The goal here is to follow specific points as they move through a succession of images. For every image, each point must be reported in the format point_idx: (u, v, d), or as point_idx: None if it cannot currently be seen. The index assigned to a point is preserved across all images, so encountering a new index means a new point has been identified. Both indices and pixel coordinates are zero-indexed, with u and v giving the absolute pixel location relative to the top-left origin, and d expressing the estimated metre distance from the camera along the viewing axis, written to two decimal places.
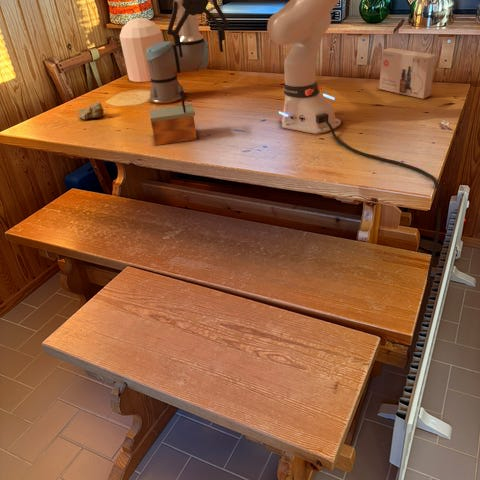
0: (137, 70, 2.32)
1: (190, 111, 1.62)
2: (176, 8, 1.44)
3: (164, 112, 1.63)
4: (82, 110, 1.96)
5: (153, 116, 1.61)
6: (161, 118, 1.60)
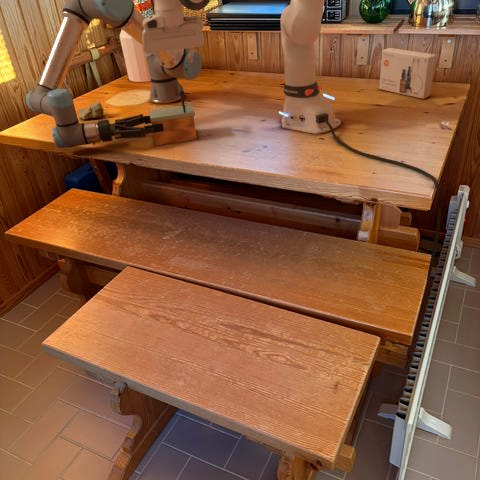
0: (137, 70, 2.32)
1: (190, 111, 1.62)
2: None
3: (164, 112, 1.63)
4: (82, 110, 1.96)
5: (153, 116, 1.61)
6: (161, 118, 1.60)
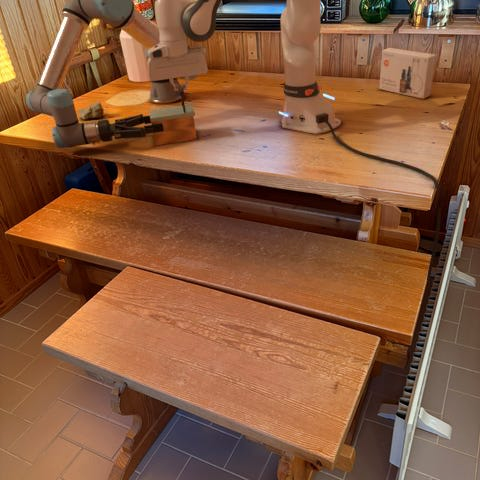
0: (137, 70, 2.32)
1: (189, 111, 1.62)
2: None
3: (164, 112, 1.63)
4: (82, 110, 1.96)
5: (153, 116, 1.61)
6: (161, 118, 1.60)
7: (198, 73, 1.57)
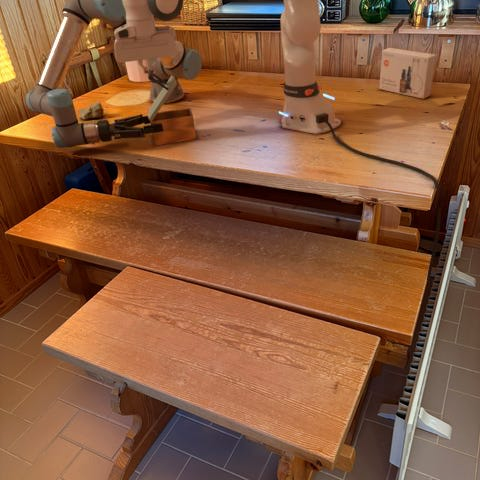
0: (137, 70, 2.32)
1: (171, 85, 1.56)
2: None
3: (156, 103, 1.61)
4: (82, 110, 1.96)
5: (150, 115, 1.60)
6: (155, 111, 1.59)
7: (167, 55, 1.52)
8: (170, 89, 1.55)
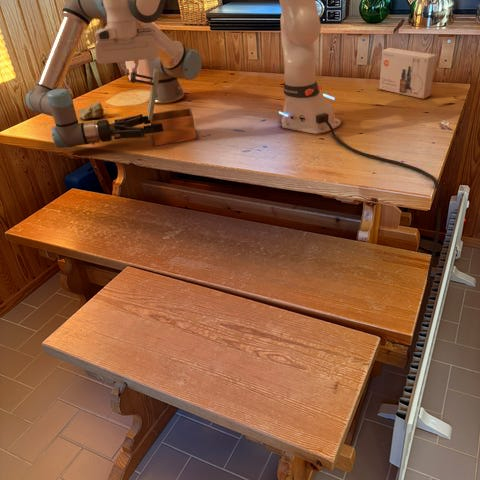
0: (137, 70, 2.32)
1: (154, 78, 1.53)
2: None
3: (150, 101, 1.60)
4: (82, 110, 1.96)
5: (148, 115, 1.60)
6: (151, 109, 1.58)
7: (149, 57, 1.51)
8: (155, 83, 1.53)
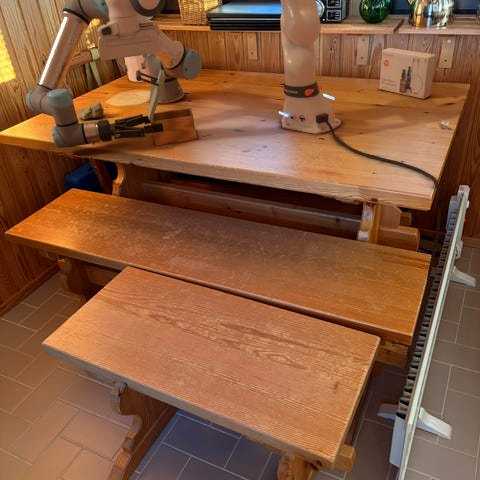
0: None
1: (160, 80, 1.54)
2: None
3: (152, 101, 1.61)
4: (82, 110, 1.96)
5: (149, 115, 1.60)
6: (153, 110, 1.58)
7: (152, 52, 1.51)
8: (160, 84, 1.54)
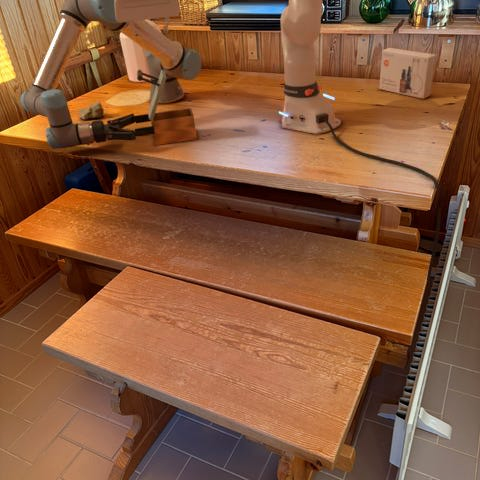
0: (137, 70, 2.32)
1: (161, 80, 1.54)
2: None
3: (153, 101, 1.61)
4: (82, 110, 1.96)
5: (149, 115, 1.60)
6: (153, 110, 1.58)
7: (169, 15, 1.46)
8: (161, 84, 1.54)
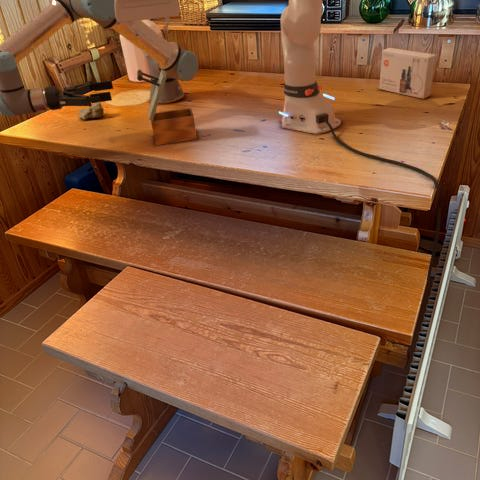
0: (137, 70, 2.32)
1: (161, 80, 1.54)
2: None
3: (153, 101, 1.61)
4: (82, 110, 1.96)
5: (149, 115, 1.60)
6: (153, 110, 1.58)
7: (169, 15, 1.46)
8: (161, 84, 1.54)
